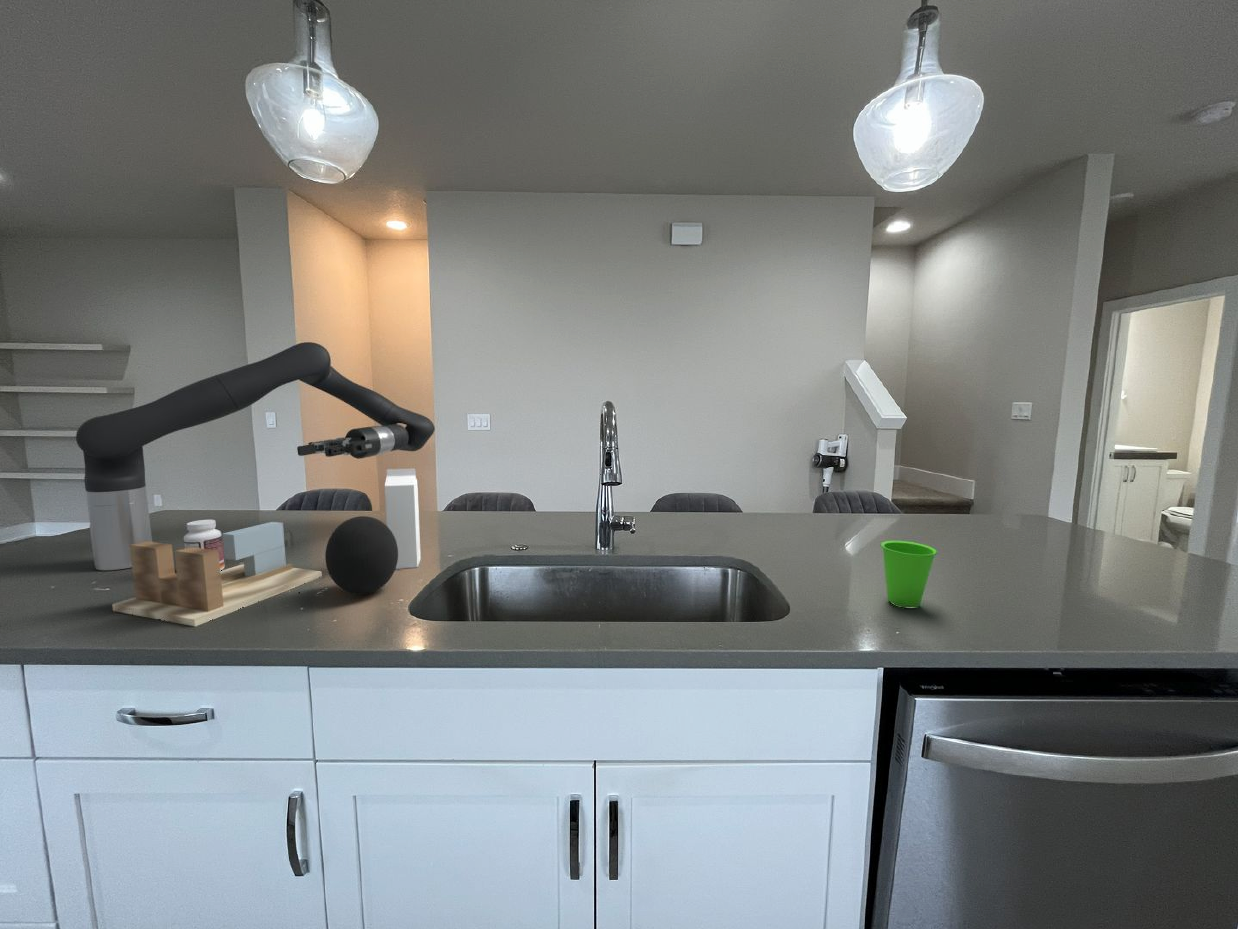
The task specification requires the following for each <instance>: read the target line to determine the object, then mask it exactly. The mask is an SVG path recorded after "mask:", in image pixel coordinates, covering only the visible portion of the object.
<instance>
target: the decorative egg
mask: <svg viewBox="0 0 1238 929" xmlns="http://www.w3.org/2000/svg"><path fill="white" fill-rule="evenodd" d="M324 557H325V558H324V559H325V566H326V569H327V572H328V575H329V577H330V578H331V580H332V581H333V582H334V583H335V585H337V587H339V589H341V590H343V591H345V592H347V593H350V594H353V595H368V594H372V593H374V592H376V591H378V590H380V589H382V588H383V587H384V586H385V585H386V584H388V582H389V581H390V579H391V578H392V577H393V575H394V573H395V570H397V569H396V566H397V561H398V547H397V542H396V539H395V537H394V535H393V533H392V532H391V530H390V529H389V528H388V527H387V524H385V522H382V521H381V520H380V519H378V518H375V517H371V516H366V515H361V516H355V517H351V518H349V519H346V520H345V521H343V522H342V523H340V524H339V525H337V527H336V528H335V529H334V531H332V534H331V535H330V536H329V539H328V541H327V544H326V548H325V556H324Z"/></svg>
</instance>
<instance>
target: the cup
mask: <svg viewBox="0 0 1238 929" xmlns="http://www.w3.org/2000/svg"><path fill="white" fill-rule="evenodd" d="M880 547H881V548H882V553H883V563H884V564H883V566H884V574H885V584H886V595H887V600H888V602H889V601H890V602H892V603H894V604H895V605H898V606H901V607H918V608H919V606H920V605H921V603H922V600H923V596H924V592H925V589H926V586H927V585H926V584H927V582H928V579H929V576H930V573H931V572H930V571H931V568H932V565H933V561H934V558H935V556H936V555H937V554H938V551H937V550H936V549H935V548H934V547H931V546H929V545H926V544H922V543H917V542H912V541H904V540H886V541H883V542H881V544H880Z"/></svg>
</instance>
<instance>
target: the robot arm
mask: <svg viewBox="0 0 1238 929" xmlns="http://www.w3.org/2000/svg"><path fill="white" fill-rule="evenodd" d="M331 362H332V361H331V355H330V352H329V351H328V349H327V348H326V347H324V346H323V345H322V344H319V343H316V342H312V341H311V342H310V341H305V342H300V343H297V344H293V345H292V346H290V347H288V348H285V349H284V350H281V351H279V352H278V353H275V354H273V355H271V356H269V357H267V358H263V359H261V360H259V361H255V362H253V363H248V364H246V365H242V366H240V367H236V368H234V369H231V370H228V371H224V372H221V373H218V374H215V375H211V376H209V377H206V378H203V379H199V380H197V381H195V382H192V383H190V384H188V385H185V386H183V387H181V388H179V389H177V390H175V391H172V392H170V393H168V394H166V395H164V396H162V397H160V398H158V399H156V400H154V401H151V402H149V403H145V404H143V405H140V406H137V407H136V406H135V407H133V408H129V409H128V408H127V409H124V410H122V411H118V412H114V413H109V414H105V415H100V416H99V415H98V416H95V417H92V418H89V419H87V420H85V422H83V423H82V424H81V425H80V426H79V427H78V429H77V431H76V433H75V434H76V435H75V441H76V444H77V446H78V447H79V449H80V450H81V451H82V452H83V462H84V481H83V482H84V489H85V495H86V502H87V503H86V505H87V511H88V519H89V532H90V540H91V548H92V556H93V563H94V567H95V570H98V571H116V570H123V569H130V568H132V562H131V554H130V546H129V545H131V544H136V543H140V542H145V541H148V542H153V538H152V528H151V522H150V521H151V520H150V510H149V504H148V495H147V487H146V466H145V458H144V448H143V447H144V446H146V445H149V444H150V443H151V442H154V441H156V440H158V439H160V438H163V437H165V436H167V435H170V434H172V433H175V432H178V431H181V430H185V429H188V428H193V427H196V426H199V425H203V424H206V423H211V422H212V421H215V420H218V419H221V418H224V417H226V416H229V415H232V414H234V413H236V412H239V411H243V410H244V409H247V408H248V407H250V406H251V405H253V404H255V403H256V402H258V401H259V400H261V399H263V398H264V397H265V396H267V395H268V394H269V393H271V392H272V391H274V390H276V389H277V388H280V387H282V386H285V385H286V384H290V383H292V382H295V381H300V382H302V383H304V384H306V385H308V386H310V387H313V388H315V389H317V390H319V391H322V392H324V393H326V394H328V395H330V396H332V397H334V398H336V399H338V400H340V401H341V402H344V403H345V404H347V405H348V406H350V407H351V408H354V409H355V410H356V411H359V412H360V413H361V414H364V415H365V416H366V417H367V418H369V419H371V420H373V421H374V422H375V423H377V424H378V425H373V426H372V425H371V426H366V427H358V428H351V429H350V430H348V431H347V433H346V434H345V436H344V437H336V438H333V439H332V438H331V439H324V440H319V441H318V440H317V441H310V442H308V443H307V444H304V445H300V446H297V447H296V450H297V451H296V452H297V455H298V456H299V457H303V456H309V455H317V454H324V455H325V457H327V458H331V457H335V456H341V455H344V456H351V457H352V458H355V459H366V458H371V457H374V456H380V455H383V454H387V453H389V452H394V451H404V452H405V451H406V452H416V451H417V452H418V451H419V450H421V449H422V448H423V447H424V446H425V445H426V444H427V442H428V441H429V440H430V438H432V436H433V435H434V433H435V425H434V423H433V421H432V420H431V419H430V418H428V417H427V416H425V415H423V414H420V413H417V412H414V411H411V410H408V409H406V408H403V407H400V406H398V405H397V404H396V403H395V402H393V401H391V400H389V398H386V397H385V396H384V395H381V393H379V392H377V391H375V390H372V389H370V388H368V387H365V386H363V385H360V384H358V383H357V382H354V381H352V380H351V379H349V378H347V377H346V376H344V375H343V374H341V373H340V372H339V371H338V370H336V369H335V368H334V367H333V366H331ZM401 424H402V425H401ZM403 425H405V427H404V426H403Z"/></svg>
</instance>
